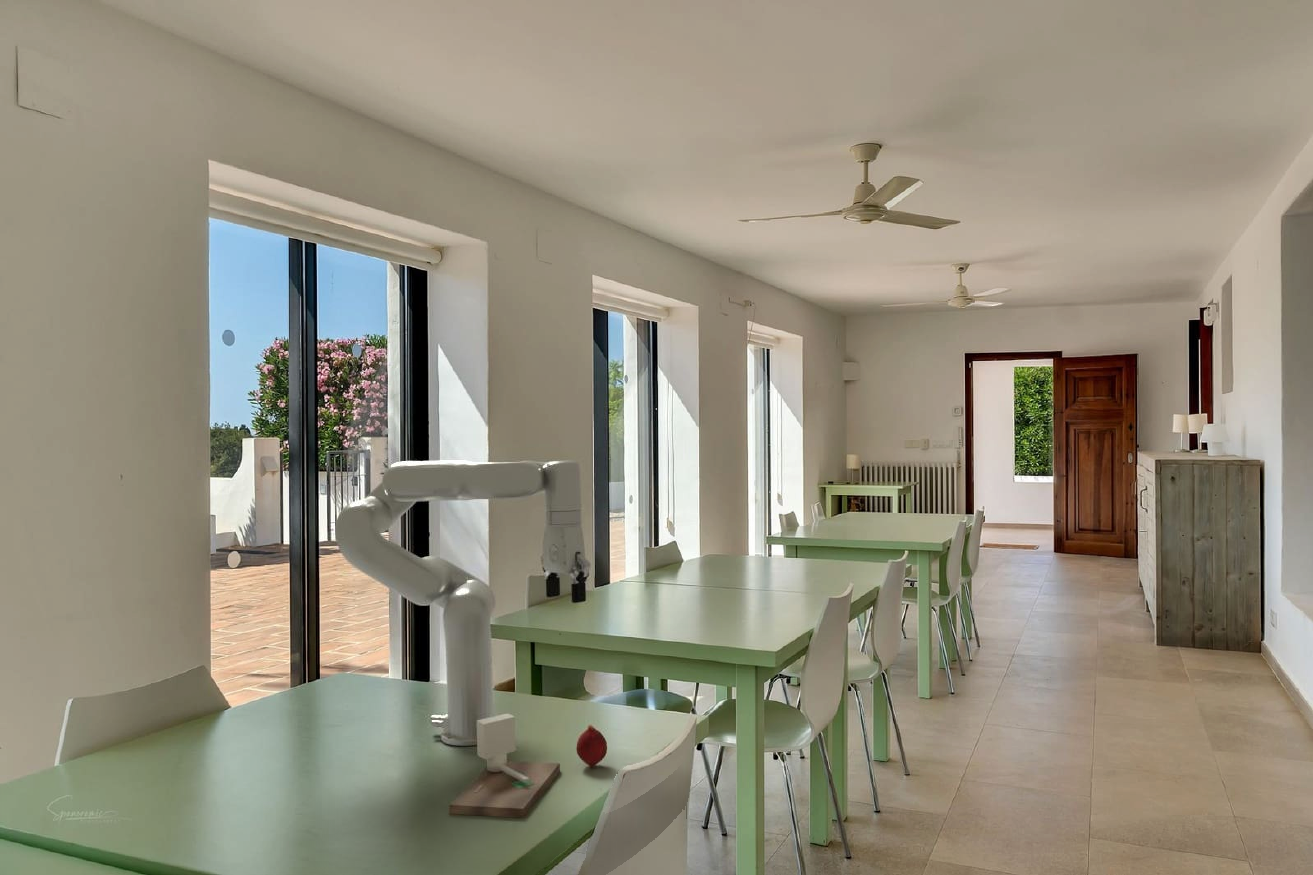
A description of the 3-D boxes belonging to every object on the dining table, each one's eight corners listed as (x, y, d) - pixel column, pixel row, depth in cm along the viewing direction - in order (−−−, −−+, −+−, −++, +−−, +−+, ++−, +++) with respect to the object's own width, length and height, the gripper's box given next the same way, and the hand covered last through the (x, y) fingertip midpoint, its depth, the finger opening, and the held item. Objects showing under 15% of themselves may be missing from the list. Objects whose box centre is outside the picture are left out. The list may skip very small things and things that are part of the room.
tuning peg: (476, 770, 167) (475, 720, 167) (507, 761, 172) (506, 712, 172) (510, 789, 158) (509, 736, 158) (542, 779, 162) (540, 727, 162)
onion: (612, 762, 175) (611, 721, 175) (600, 773, 169) (599, 730, 169) (584, 760, 177) (583, 718, 177) (572, 770, 171) (570, 728, 171)
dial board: (449, 813, 153) (449, 804, 153) (494, 768, 173) (494, 759, 173) (523, 817, 150) (523, 808, 150) (559, 771, 171) (559, 762, 171)
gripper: (527, 518, 198) (529, 596, 198) (571, 522, 184) (574, 607, 184) (556, 515, 203) (558, 592, 203) (601, 519, 189) (604, 602, 189)
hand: (565, 599), depth 193 cm, fingers open, 9 cm apart
